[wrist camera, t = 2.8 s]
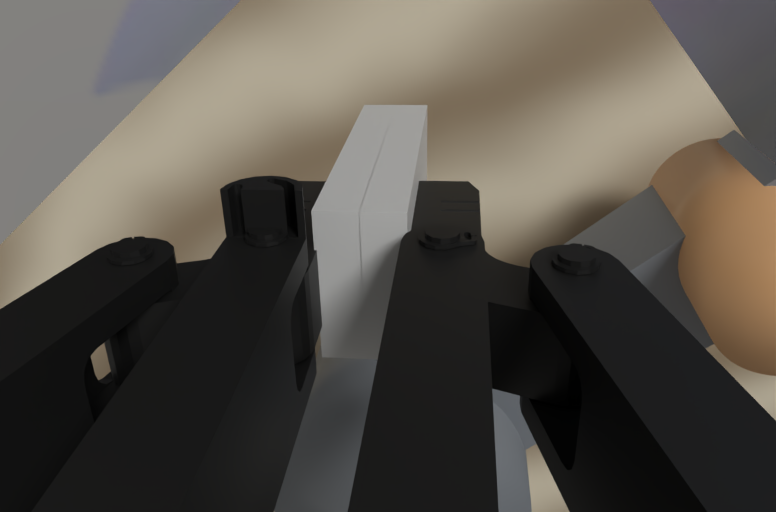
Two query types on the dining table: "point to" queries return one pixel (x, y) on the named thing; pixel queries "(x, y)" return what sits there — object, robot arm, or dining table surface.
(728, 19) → the dining table surface
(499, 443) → the uneven dumbbell rattle
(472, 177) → the base board
